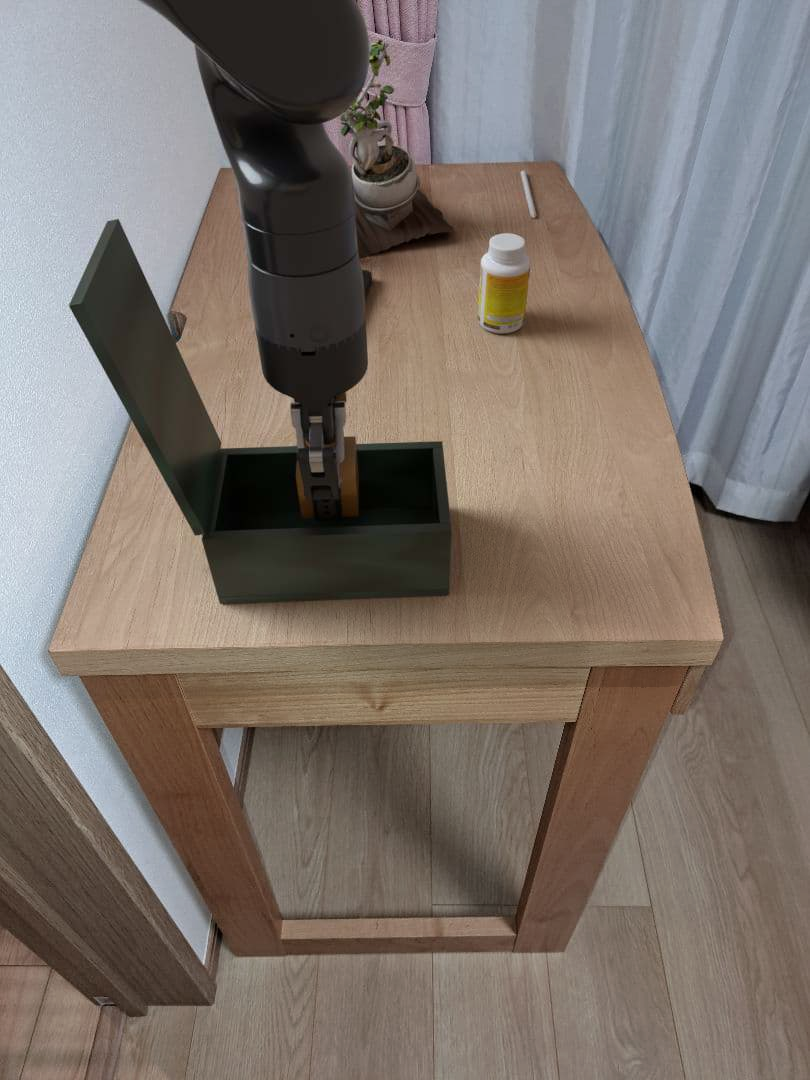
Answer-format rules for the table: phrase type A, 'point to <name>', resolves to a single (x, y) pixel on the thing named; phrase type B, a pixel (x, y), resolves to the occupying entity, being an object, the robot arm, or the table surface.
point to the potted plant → (384, 176)
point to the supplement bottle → (503, 284)
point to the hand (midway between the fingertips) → (329, 495)
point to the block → (347, 487)
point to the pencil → (528, 194)
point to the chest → (330, 528)
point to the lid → (148, 372)
